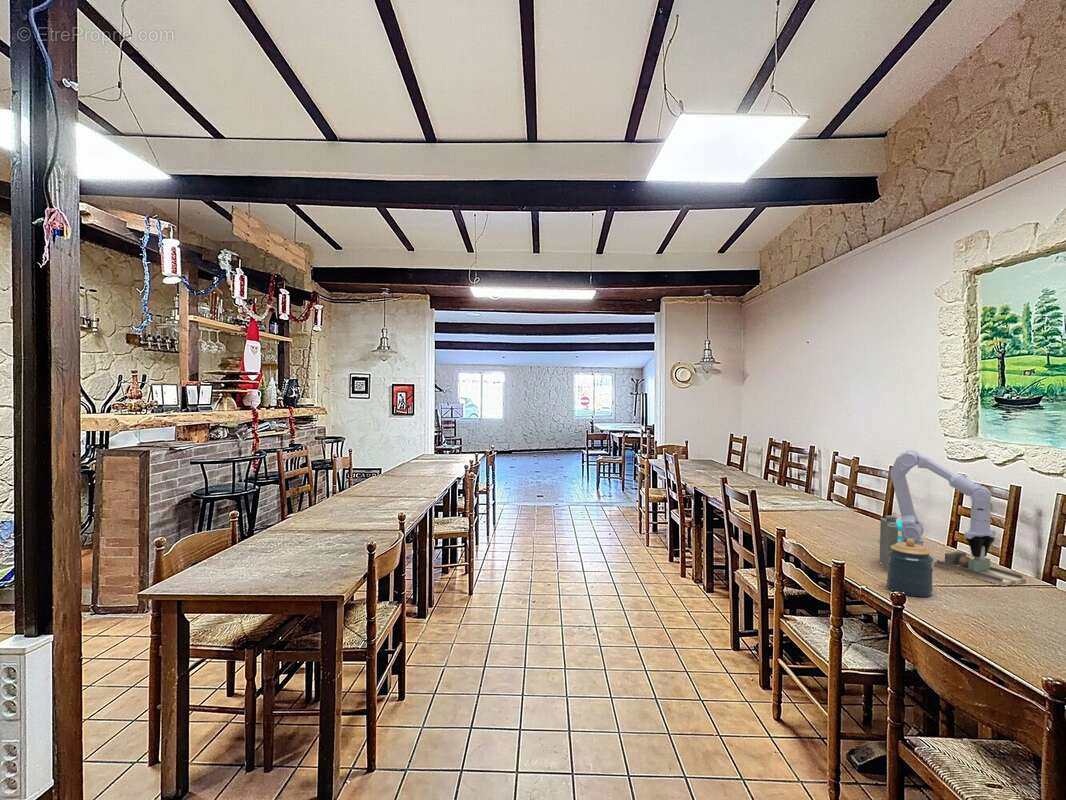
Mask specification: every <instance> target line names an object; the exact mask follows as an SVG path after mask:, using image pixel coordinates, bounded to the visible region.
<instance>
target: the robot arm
mask: <svg viewBox="0 0 1066 800" xmlns="http://www.w3.org/2000/svg"><path fill="white" fill-rule="evenodd" d="M916 466H917V469H927V470H929V471H931V472H932V473H934V474H936V475H937V476H940V477H941V478H943V479H945V480H947V481H948V483H949V486H950V487H952V488H953V489H954V490H956V491H958V492H959V493H962V494H963V495H965V496H966V497H970V499H971V507H970V525H969V526H970V527H969V530H967V531H966V532H965V531H964V532H963V537H964V538H965V540H966V541H967V542H968V545H969V547H970V551H971V554H972V557H974V556H975V557H980V555H981V548H982V546H985V557H987V555H988V552H989V550H990V547H991V545H992V543H994V541H995V536H996V532H997V531H996V530H994V529H991V500H992V492H991V490H990V489H988V488H987V487H986V486H983V485H982V483H979V482H978V483H977V482H975V481H974V480H972V479H971V478H968V475H967V474H962V473H953V472H951V471H950V470H948V469H947V468H945V466H944V467H943V466H942V465H941V464H939V463H937V462H936V461H935V460H933V459H931V458H930V457H928V456H926V455H924V454H921V453H919V452H917V451H915V450H913V449H909V450H906V451H905V452H902V453H901V454H899V456H897V457H896V458H895V461H894V463H893V465H892V467H891V470H890V473H889V474H890V477H891V482H892V485H893V488H894V493H895V496H896V501H897V503H898V504H897V505H898V509H899V511H900V512H899V513H900V516H901V521H902V530H901V531H900V533H901V534H900V535H901V536H902V537H901V541H900V542H903V543H906V540H907V539H913V540H914V541H915V544H918V545H921V546H924V540H923V539H922V537H921V536H923V534H924V527H923V526H922V524H921V523H920V522H919V519H918V516H917V514H916V510H915V507H914V504H913V500H912V495H911V493H910V489H909V483H908V480H907V477H906V476H907V474H908V472H910V471H911V469H913V468H915V467H916ZM900 542H898V543H900Z"/></svg>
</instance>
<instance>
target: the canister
mask: <svg viewBox="0 0 1066 800" xmlns="http://www.w3.org/2000/svg"><path fill="white" fill-rule="evenodd" d="M891 549H892V550H891V551H889V552H888V553H887V554H888V555H889V561H888V562H887V564H888V573H887V578H886V585H887V588H888V589H889V590H890V589H893V590H894V591H899V592H904V593H905V594H906V595H905V596H909V597H916V596H921V597H920V598H926V596H928V597H930V596H932V592H933V590H934V589H933V588H934V587H933V571H934V568H933V566H932V563H934V558H933V557H932V556H931V555H930V554H931V550H929V549H927V547H925V546H924V545H923V546H921V545H918V544H915V541H914V540H913V539H907V540H906V543H903V542H900V543H896V544H894V545H891ZM894 591H893V592H894ZM910 595H911V596H910Z"/></svg>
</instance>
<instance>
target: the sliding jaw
mask: <svg viewBox="0 0 1066 800" xmlns="http://www.w3.org/2000/svg"><path fill="white" fill-rule="evenodd" d="M990 567H991V558H987V557H986V556H985V546H982V548H981V555H980V557H975V556H973V558H970V560H968V569H971V570H974V571H978V572H979V571H985V570H990Z"/></svg>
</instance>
